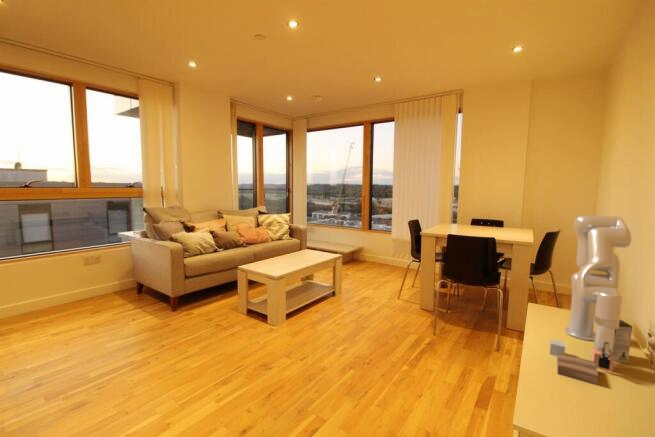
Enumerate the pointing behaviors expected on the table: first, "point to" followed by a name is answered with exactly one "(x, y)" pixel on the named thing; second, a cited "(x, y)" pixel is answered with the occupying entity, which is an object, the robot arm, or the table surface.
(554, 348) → the grey cube
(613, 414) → the table surface
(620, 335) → the coffee box
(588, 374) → the walnut block
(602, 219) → the robot arm
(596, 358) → the terracotta cube
